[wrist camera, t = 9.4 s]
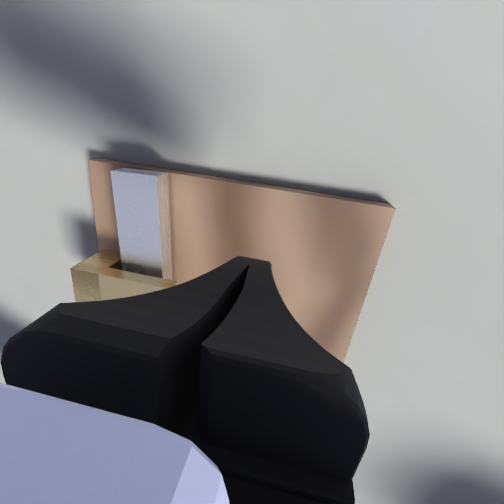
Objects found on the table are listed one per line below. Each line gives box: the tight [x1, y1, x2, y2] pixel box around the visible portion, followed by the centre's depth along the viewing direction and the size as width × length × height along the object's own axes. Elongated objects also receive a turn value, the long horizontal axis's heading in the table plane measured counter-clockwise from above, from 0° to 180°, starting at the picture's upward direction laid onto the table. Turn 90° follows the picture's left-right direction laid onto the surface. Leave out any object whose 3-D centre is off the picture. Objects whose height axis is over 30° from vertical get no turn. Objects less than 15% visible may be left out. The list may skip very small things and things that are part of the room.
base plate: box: [88, 158, 396, 363], centre depth 21 cm, size 20×20×4 cm
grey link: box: [110, 168, 173, 281], centre depth 21 cm, size 17×4×2 cm, turn 175°
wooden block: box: [70, 249, 178, 302], centre depth 20 cm, size 7×4×3 cm, turn 83°
